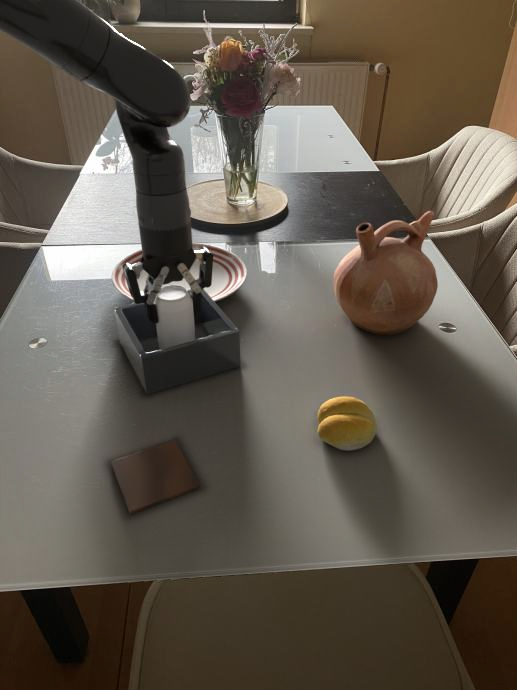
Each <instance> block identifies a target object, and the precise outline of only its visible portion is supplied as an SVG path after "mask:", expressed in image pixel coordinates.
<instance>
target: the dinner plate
mask: <svg viewBox="0 0 517 690" xmlns="http://www.w3.org/2000/svg"><path fill="white" fill-rule="evenodd" d="M202 247H206V248H207V249H208V250H209V251H210V252H211V253H212V254H213V269H212V284H211V286H210V287H208V288H207V287H205V288H203V289H204V290H205V291H206V292H207V294H208V295H209V296H210V297H211V298H212V299H213V301H214V302H215V303H216V302H218V301H221V300H223V299H225V298H227V297H229V296H231V295H233V294H234V293H236V292H237V291H238V290H239V289H240V288H242V286H243V285H244V284H245V282H246V280H247V277H248V269H247V266H246V265H245V263H244V261H243V260H242V258H240V257H239V256H238V255H236V254H235V253H233V252H232V251H229V250H227V249H225V248H222V247H220V246H216V245H211V244H207V243H199V242H192V248H193V250H194V251H197V250H201V248H202ZM141 258H142V248H141V249H138V250H136V251H134V252H132V253H129V254H128V255H127V256H125V257H123V258H122V259H120V260H119V261H118V262H117V263H116V265H115V266H114V268H113V270H112V272H111V282H112V285H113V286H114V288H115V290H117V292H119V294H121V295H122V296H124V297H125V298H126V299H128V300H129V299H130V300H132V301H134V299H133V298H132V297H131V295H130V292H129V288H128V285H127V281H126V278H125V274H124V271H123V265H124V264H125V263H129V264H130V265H132V264H135V263H138V262H140V261H141ZM199 268H200V263H199V262H198V261H197V259H196V260H195V261H194V263H193V265H192V267H191V268H190V270H189V272H190V273H191V274H192V276H193V277H194V279H195V280H197V279H198V278H199ZM147 276H148V273H147V272H146V271H145V270H142V271H141V272H140V277H139V279H137V281H138V285H139V289H140V292H143V290H144V288H145V285H146V279H147ZM168 285H179V286H183V287H185V288H186V289H187V290H188V289H190V286H189V285H188V283H187V282H186V280H185V279H184V278H183V279H182V281H178V282H176V281H173V282H171V283H169V284H165V285H162V287H165V286H168ZM162 287H161V288H162Z"/></svg>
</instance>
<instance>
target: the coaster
mask: <svg viewBox="0 0 517 690" xmlns="http://www.w3.org/2000/svg"><path fill="white" fill-rule="evenodd" d="M110 465H111V468H112V470H113V472H114V475H115V478H116V481H117V484H118V486H119V489H120V492H121V494H122V497H123V501H124V502H125V505H126V508H127V511H128V513H129V515H132V514H135V513H138V512H140V511H142V510H145V509H148V508H151V507H154V506H155V505H159V504H161V503H164V502H167V501H169V500H172V499H174V498H177V497H180V496H182V495H185V494H188V493H190V492H193V491H195V490H198V489H200V484H199V481H198V480H197V479H196V477H195V475H194V473H193V471H192V469H191V467H190V465H189V463H188V461H187V460H186V458H185V456H184V454H183V452H182V450H181V448H180V446H179V444H178V442H177V440H176V439H173V440H170V441H167V442H164V443H160V444H158V445H155V446H152V447H149V448H147V449H143V450H141V451H138V452H135V453H134V452H133V453H131V454H128V455H126V456H123V457H120V458H117V459H114V460H112V461H110Z"/></svg>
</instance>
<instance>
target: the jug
mask: <svg viewBox="0 0 517 690" xmlns="http://www.w3.org/2000/svg"><path fill="white" fill-rule="evenodd" d="M435 215H436V214H435V212H434V211H433V210H428V211H426V212H424V214H423V215H421V216H420V218H419V219H418V220H414V221H412V222H410V223H408V222H406V221H403V220H398V219H397V220H391V221H388V222H387V223H384V224H383V225H382V226H380V227H379V228H378V229H376V230H374V228H373V225H372V223H369V222H362V223H360V224H359V225H357V227H356V228H355V234H356V238H357V241H358V245H357V246H356V247H354V248H353V249H352V250H350V251H349V252H348V253H347V254H346V255H345V256H344V257H343V258H342V259H341V261H339V263H338V265H337V267H336V269H335V270H334V274H333V291H334V295H335V296H334V297H335V299H336V301H337V303H338V304H339V306H340V308H341V310H342V311H343V313H344V314H345V315H346V316H347V318H348V320H349V321H351V323H352V324H353V325H354V326H356V327H357V328H359V329H361V330H363V331H365V332H368V333H370V334H374V335H380V336H381V335H382V336H384V335H385V336H389V335H397V334H401V333H402V332H404V331H406V330H408V329H409V328H410V327H412V326H413V325H414V324H416V323H418V322H419V321H420V320H421V319H422V318H423V317H424V316H425V315H426V314H427V313H428V311H429V310H430V308H431V306H432V304H433V303H434V300H435V297H436V294H437V292H438V287H439V284H438V283H439V281H438V276H437V271H436V267H435V266H434V263H433V262H432V261H431V259H430V258H429V257H428V256H427V255H426V254H425V253H424V252H423V250H422V247H423V243H424V241H425V239H426V236H427V233H428V231H429V229H430V226H431V224H432V222H433V220H434V219H435ZM396 232H403V233H405V234H407V236H406V237H405V238H403V239H400V238H396V237H390V235H391V234H394V233H396Z"/></svg>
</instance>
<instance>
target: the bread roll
mask: <svg viewBox="0 0 517 690" xmlns="http://www.w3.org/2000/svg"><path fill="white" fill-rule="evenodd" d="M317 422H318V427H317V434H318V437H319V438H320V440H322V441H323V442H324V443H326V444H328V445H329V446H332V447H334V448H336V449H338V450H340V451H347V452H350V451H356V450H360V449H362V448H365V447H366V446H368V445H369V444H370V443H371V442H372V441H373V440H374V438H375V436H376V433H377V429H378V428H377V426H378V425H377V422H376V418H375V415H374V413H373V411H372V409H371V408H370V407H369V405H368V404H367V403H366V402H364V401H362V400H361V399H359V398H356V397H352V396H338V397H333V398H330V399H327V400H326V401H325V402H324V403H322V404H321V405H320V407H319V409H318V412H317Z"/></svg>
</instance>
